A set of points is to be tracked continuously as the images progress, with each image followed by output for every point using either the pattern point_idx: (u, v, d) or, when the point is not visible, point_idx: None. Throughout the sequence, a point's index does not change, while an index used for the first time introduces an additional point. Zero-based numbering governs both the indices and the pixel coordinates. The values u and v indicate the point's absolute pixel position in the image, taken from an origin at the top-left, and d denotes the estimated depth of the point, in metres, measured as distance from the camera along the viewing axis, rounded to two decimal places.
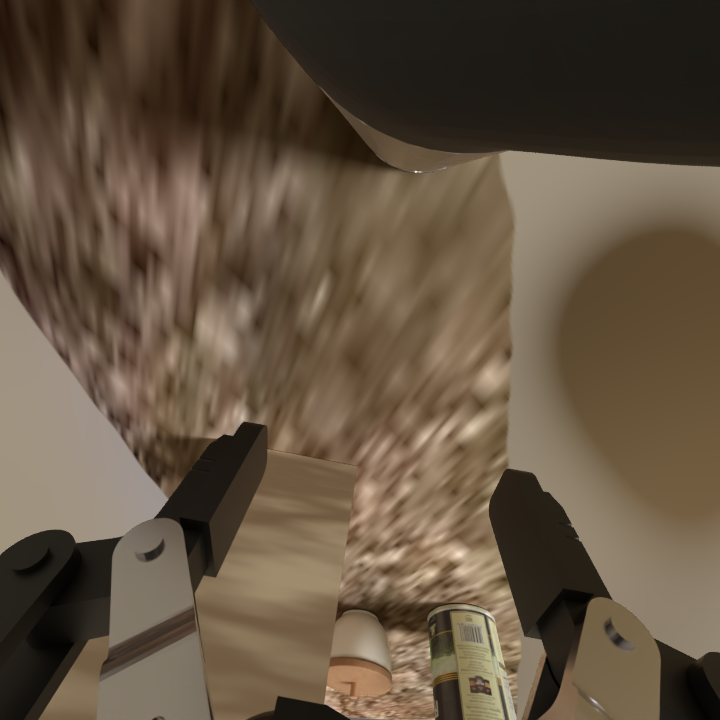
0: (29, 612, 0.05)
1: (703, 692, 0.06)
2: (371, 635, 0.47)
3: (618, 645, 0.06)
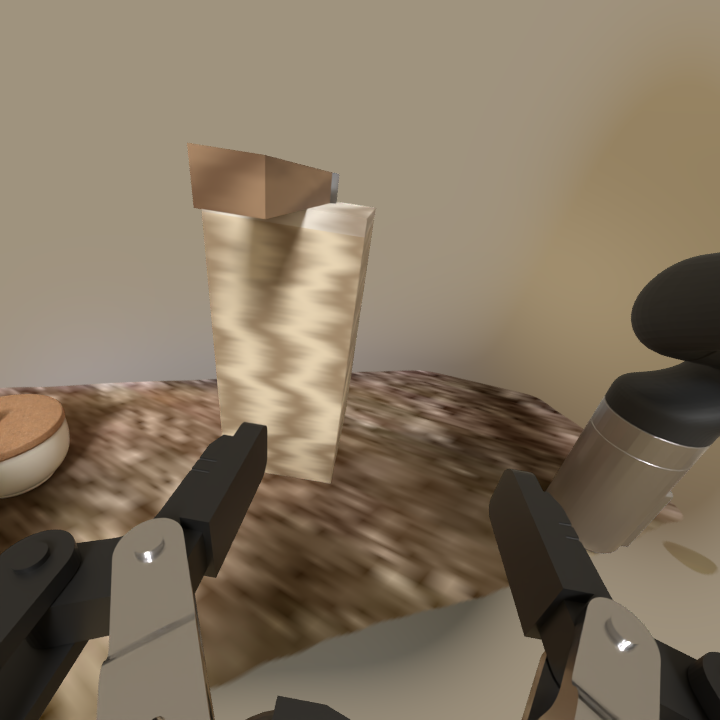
0: (29, 612, 0.05)
1: (703, 692, 0.06)
2: (40, 468, 0.34)
3: (618, 645, 0.06)
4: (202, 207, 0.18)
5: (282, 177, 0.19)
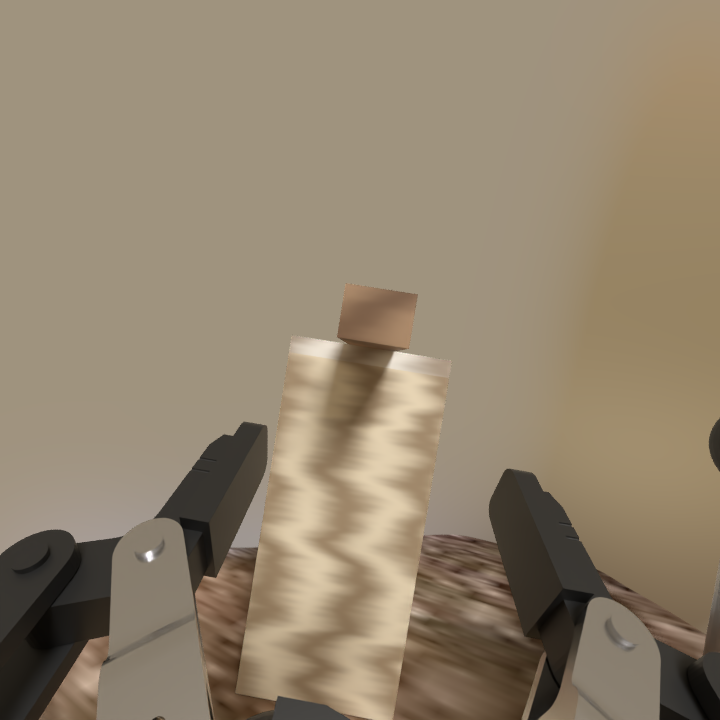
0: (30, 612, 0.05)
1: (703, 692, 0.06)
2: None
3: (618, 645, 0.06)
4: (346, 337, 0.18)
5: None
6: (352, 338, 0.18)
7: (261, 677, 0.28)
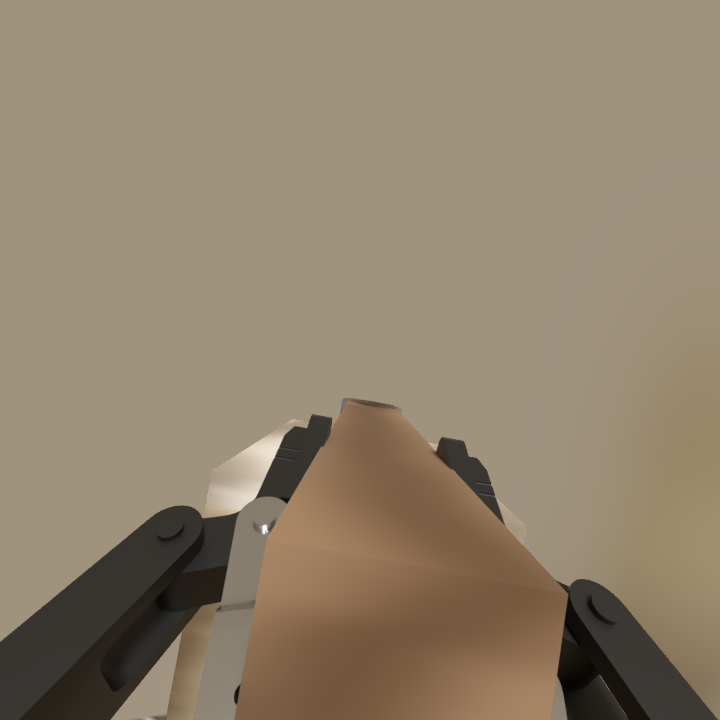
0: (159, 580, 0.06)
1: (573, 620, 0.07)
2: None
3: None
4: None
5: None
6: None
7: None
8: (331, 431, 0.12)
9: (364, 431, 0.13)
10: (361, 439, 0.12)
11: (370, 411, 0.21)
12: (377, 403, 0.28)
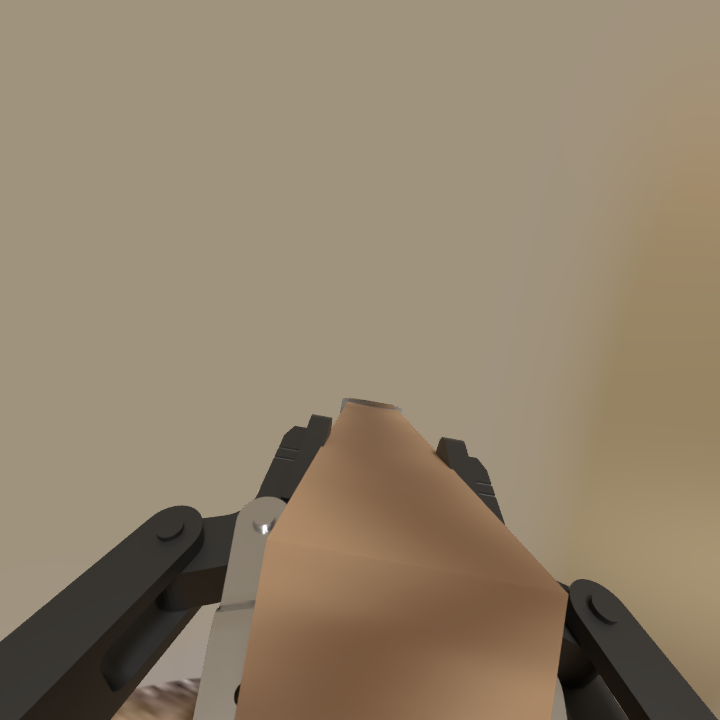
0: (159, 580, 0.06)
1: (572, 620, 0.07)
2: None
3: None
4: None
5: None
6: None
7: None
8: (331, 431, 0.12)
9: (364, 431, 0.13)
10: (361, 439, 0.12)
11: (370, 411, 0.21)
12: (377, 403, 0.28)
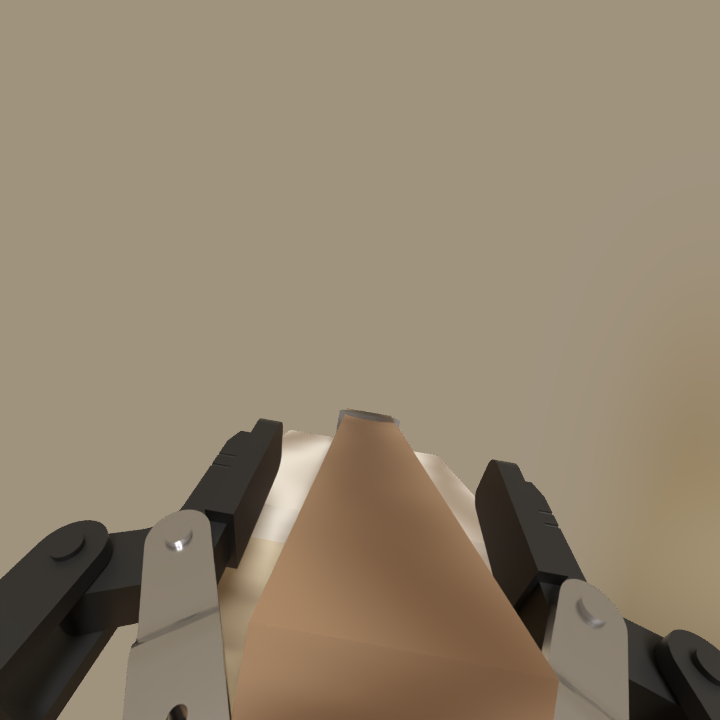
0: (63, 600, 0.06)
1: (669, 669, 0.06)
2: None
3: (587, 623, 0.06)
4: None
5: None
6: None
7: None
8: (325, 458, 0.12)
9: (359, 455, 0.13)
10: (355, 467, 0.11)
11: (367, 426, 0.21)
12: (375, 414, 0.28)
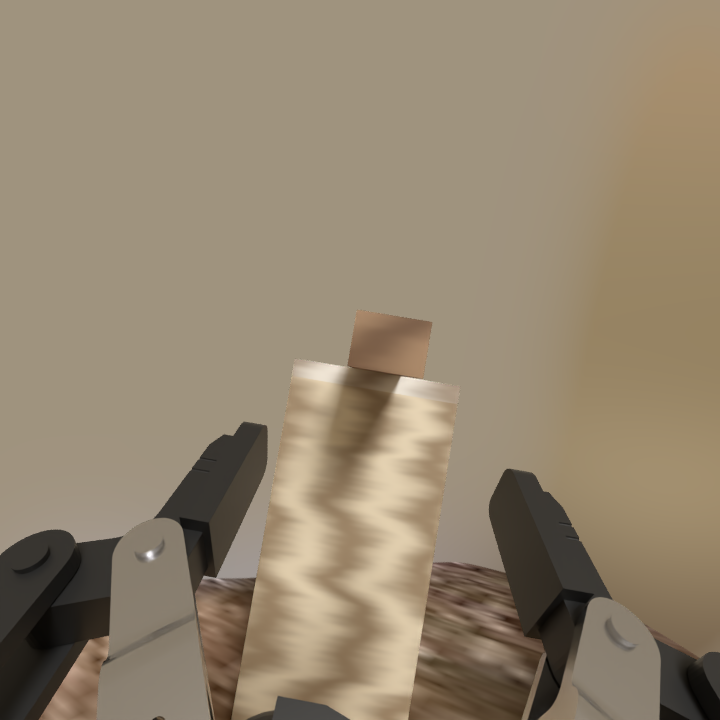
0: (29, 612, 0.05)
1: (703, 692, 0.06)
2: None
3: (618, 645, 0.06)
4: (356, 365, 0.17)
5: None
6: (363, 367, 0.17)
7: None
8: None
9: None
10: None
11: None
12: None
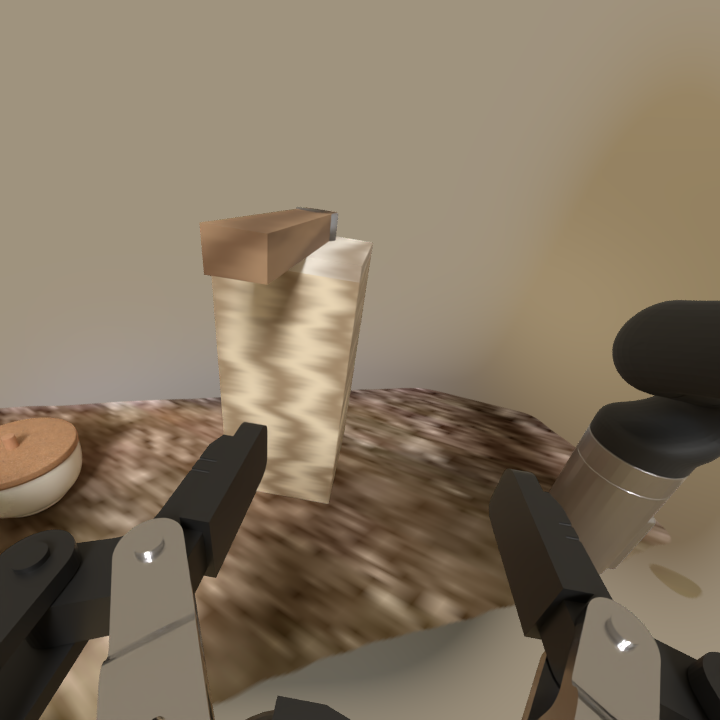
0: (30, 612, 0.05)
1: (703, 692, 0.06)
2: (55, 489, 0.36)
3: (618, 645, 0.06)
4: (211, 274, 0.20)
5: (283, 243, 0.21)
6: (217, 275, 0.20)
7: None
8: (254, 215, 0.26)
9: (275, 216, 0.27)
10: (265, 217, 0.25)
11: (303, 212, 0.33)
12: (323, 210, 0.39)
